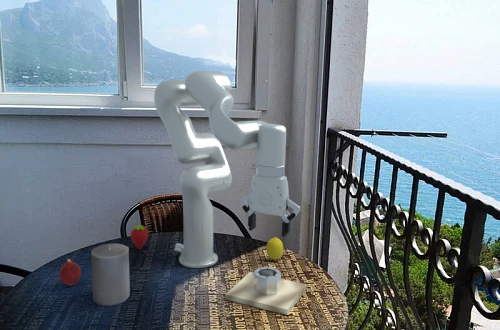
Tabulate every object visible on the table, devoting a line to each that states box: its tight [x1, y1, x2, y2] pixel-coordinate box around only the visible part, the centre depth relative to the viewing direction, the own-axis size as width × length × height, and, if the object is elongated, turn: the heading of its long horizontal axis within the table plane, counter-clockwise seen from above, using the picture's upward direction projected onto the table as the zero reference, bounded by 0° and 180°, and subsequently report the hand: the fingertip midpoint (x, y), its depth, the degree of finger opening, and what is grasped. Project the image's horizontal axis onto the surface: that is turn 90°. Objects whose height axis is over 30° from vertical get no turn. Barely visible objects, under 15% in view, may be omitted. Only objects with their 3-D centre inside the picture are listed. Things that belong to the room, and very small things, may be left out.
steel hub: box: [253, 266, 282, 296], centre depth 128 cm, size 7×7×5 cm
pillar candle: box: [90, 243, 131, 307], centre depth 123 cm, size 10×10×15 cm
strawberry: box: [130, 223, 149, 250], centre depth 158 cm, size 6×8×10 cm
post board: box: [224, 270, 308, 316], centre depth 128 cm, size 18×16×6 cm
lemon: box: [266, 236, 284, 261], centre depth 151 cm, size 6×6×8 cm
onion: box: [58, 258, 82, 287], centre depth 130 cm, size 6×6×8 cm
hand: (268, 232), depth 125 cm, fingers open, 9 cm apart
